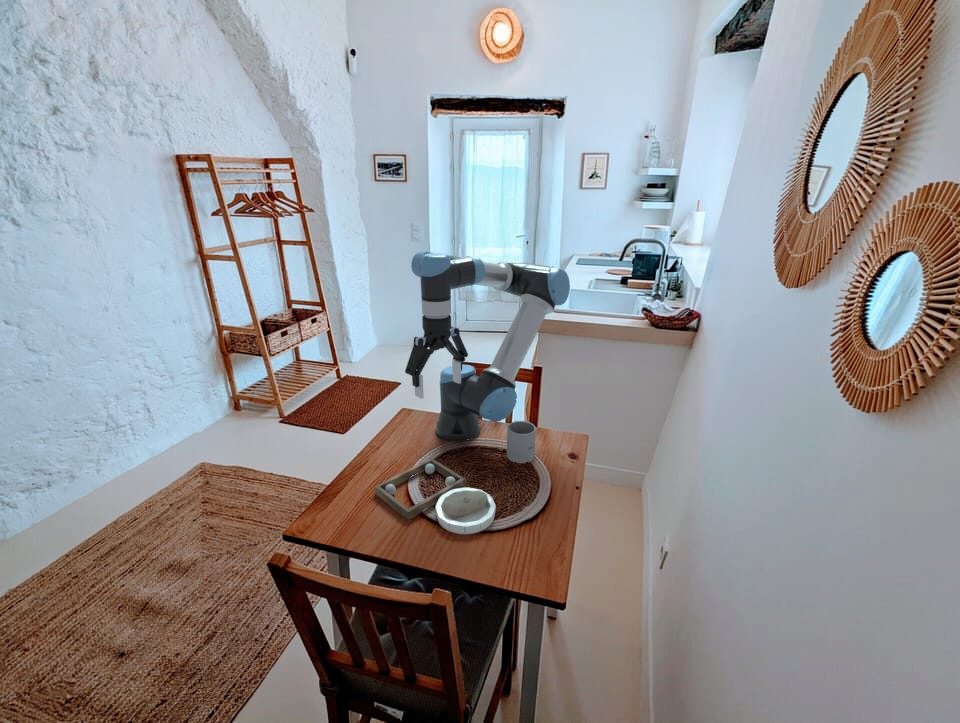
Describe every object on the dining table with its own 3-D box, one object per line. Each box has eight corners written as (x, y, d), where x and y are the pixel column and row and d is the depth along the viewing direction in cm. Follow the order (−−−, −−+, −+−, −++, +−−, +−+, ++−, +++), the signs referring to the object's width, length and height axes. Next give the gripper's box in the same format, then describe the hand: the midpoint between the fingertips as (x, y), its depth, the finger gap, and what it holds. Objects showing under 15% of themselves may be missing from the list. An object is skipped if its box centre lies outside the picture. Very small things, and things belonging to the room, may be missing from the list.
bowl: (466, 488, 132) (466, 480, 131) (506, 514, 122) (506, 505, 121) (424, 513, 122) (424, 505, 121) (464, 543, 112) (464, 535, 111)
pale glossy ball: (430, 468, 141) (430, 460, 139) (437, 473, 139) (436, 464, 137) (422, 473, 139) (422, 464, 137) (429, 477, 137) (428, 468, 135)
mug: (524, 466, 142) (525, 437, 138) (501, 456, 147) (502, 428, 143) (545, 449, 151) (547, 421, 147) (522, 440, 156) (524, 413, 152)
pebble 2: (450, 481, 135) (450, 473, 134) (457, 486, 133) (457, 477, 132) (442, 486, 133) (442, 477, 132) (450, 491, 131) (449, 482, 130)
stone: (494, 500, 122) (458, 507, 114) (483, 516, 124) (448, 525, 116) (482, 483, 125) (447, 489, 117) (472, 499, 128) (437, 506, 120)
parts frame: (431, 464, 142) (431, 457, 142) (465, 486, 133) (465, 478, 132) (375, 494, 129) (374, 486, 128) (408, 520, 119) (407, 512, 119)
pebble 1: (391, 489, 131) (391, 480, 130) (398, 494, 129) (397, 485, 128) (382, 494, 129) (382, 484, 128) (389, 499, 127) (388, 489, 126)
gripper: (461, 303, 133) (462, 373, 140) (388, 321, 116) (393, 398, 124) (480, 308, 128) (480, 380, 136) (406, 327, 111) (410, 408, 119)
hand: (438, 389), depth 130 cm, fingers open, 13 cm apart
